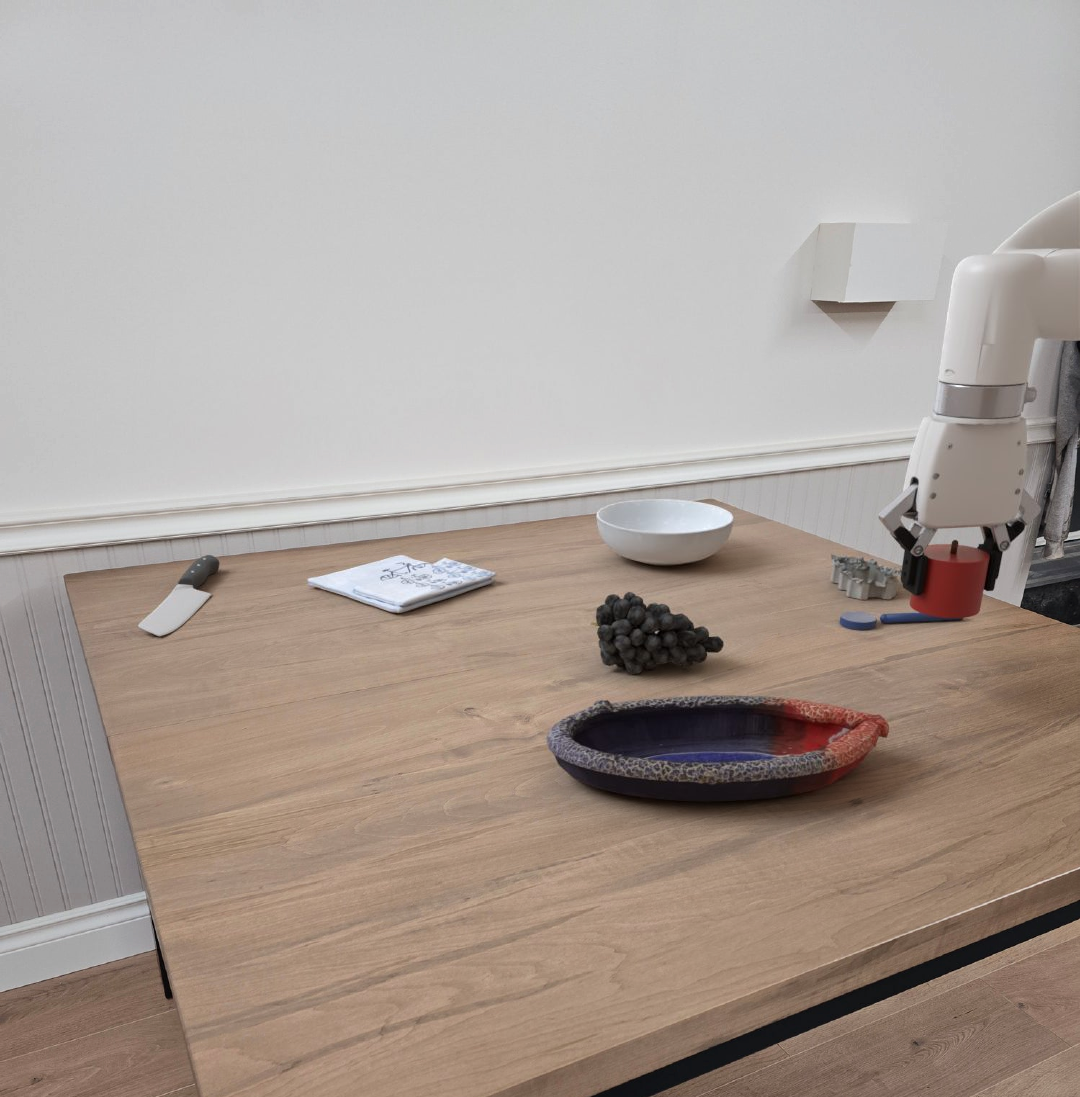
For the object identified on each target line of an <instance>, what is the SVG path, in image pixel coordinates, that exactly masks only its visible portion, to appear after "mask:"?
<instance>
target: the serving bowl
mask: <svg viewBox="0 0 1080 1097" xmlns="http://www.w3.org/2000/svg"><path fill="white" fill-rule="evenodd" d="M595 518H596V525H597V530H598V534H599V535H600V537H601V540H602V541H603V542H604V544H605V545H606V546H607V547H608V548H609V549H610V550H611V551H612V552H614V553H616V554H617V555H619V556H621V557H623V558H626V559H628V560H631V561H635V562H639V563H643V564H645V565H646V564H647V565H650V566H651V565H652V566H662V567H663V566H666V567H669V566H679V565H684V564H689V563H694V562H698V561H701V560H704V559H707V558H709V557H711V556H713V555H715V554H716V553H717V552H719V551H720V550H721V549H722V548H723V547H724V545H725V544H726V543H727V541H728V540H729V538H730V536H731V533H732V530H733V525H734V521H735V517H734V515H733V514H732V512H730V511H729V510H728V509H725V508H722V507H721V506H717V505H714V504H710V503H705V502H700V501H693V500H685V499H671V498H670V499H669V498H654V499H653V498H650V499H634V500H626V501H620V502H615V503H612V504H608V505H605V506H603V507H601V508H600V509H599V510H598V511H597V512H596V516H595Z"/></svg>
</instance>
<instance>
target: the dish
mask: <svg viewBox="0 0 1080 1097" xmlns="http://www.w3.org/2000/svg"><path fill="white" fill-rule="evenodd" d="M889 733H890V725H889V723H888V722H887V721H886V720H885V718H884V717H883V716H882V715H881V714H874V713H873V714H872V713H867V712H863V711H858V710H854V709H850V708H846V707H843V706H838V705H833V704H828V703H822V702H815V701H808V700H803V699H802V700H801V699H797V698H787V697H779V696H778V697H777V696H765V695H731V694H730V695H729V694H728V695H725V694H724V695H723V694H722V695H720V694H719V695H714V694H713V695H687V696H671V697H659V698H657V697H656V698H647V699H640V700H639V699H638V700H628V701H619V702H611V701H610V700H608V699H598V700H597V701H596V702H595V701H594V704H593V705H591V706H589V707H587V708H584V709H582V710H580V711H577V712H574V713H572V714H570V715H568V716H566V717H564V718H562V719H561V720H559V721H558V722H556V723H555V724H554V725H553V726H552V728H550V730H549V731H548V732H547V734H546V735H547V736H546V745H547V747H548V750H549V751H550V752H551V753H552V754H553V756H554V758H555V761H556V762H557V765H558V766H559V767H560V768H561V769H563V771H564V772H566V773H567V774H568V775H569V776H570V777H572V778H573V779H574V780H576V781H578V782H580V783H581V784H585V785H587V786H589V787H591V788H595V789H599V790H603V791H607V792H611V793H614V794H615V793H616V794H620V795H621V794H622V795H626V796H633V797H640V798H647V799H656V800H657V799H658V800H666V801H679V802H733V801H735V802H736V801H749V800H761V799H771V798H779V797H785V796H791V795H792V796H793V795H799V794H803V793H807V792H812V791H816V790H819V789H822V788H825V787H828V786H830V785H832V784H834V783H835V782H836V781H838V780H839V779H840V778H842V777H843V776H844V775H846V774H848V773H849V772H851V771H852V770H853V769H855V767H857V766H858V765H860V764H861V763H862V762H863V761H864V760H865V758H866V757H867V756H868V754H869V753H870V752H871V750H873V749H874V748H875V747H876V746H877V744H878V740H879V738H884V739H887V738H888V735H889Z"/></svg>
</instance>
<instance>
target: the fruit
mask: <svg viewBox="0 0 1080 1097" xmlns="http://www.w3.org/2000/svg"><path fill="white" fill-rule="evenodd" d="M595 620H596V621H595V622H593V621H592V622H590V625H592V626H596V627H598V628H597V629H596V630H597V631H596V634H597V637H598V639H599V640H598V647H599V650H600V652H599V653H600V659H601V662H602V664H604V665H605V666H608V667H612V666H614V665H615V666H618V667H619V666H623V665H624V666H625V669H626V671H627V672H628V673H629V674H630V675H638V674H640V673H641V672H642V670H643V668H644V669H647V670H652V669H654V668H655V667H656V666H657V664H658V665H662V664H666V663H667V662H669V663H673V664H675V665H680V666H681V667H682V668H684V669H689V668H691V667H693V666H694V664H702V663H704V662H705V661H706V659H707V657H708V653H709V654H710V653H712V654H714V653H715V654H718V653H720V652H721V651H722V650H723V648H724V644H725V643H724V640H723V639H722V638H721V637H720V636H718V635H717V636H716V635H715V636H710V632H709V629H708V628H706V626H701V625H700V626H697V627H695V625H694V622H692V620H690V618H689V617H688V616H687V615H685V614H684V613H683V612H682V613H677V614H674V613H671V609H670V606H669V605H667V604H665V603H656V602H653V603H649V604H648V605H646V604H645V602H644V598H642V597H641V596H639V595H636V593H634V592H631V591H628V592H626V593H625V594H624V595H623V598H621V597H620V596H619V595H618V594H615V593H611V594H609V595H607V596H606V598H605V599H604V604H600V605H599V606H598V607H596V614H595Z"/></svg>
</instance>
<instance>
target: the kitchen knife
mask: <svg viewBox="0 0 1080 1097" xmlns="http://www.w3.org/2000/svg"><path fill="white" fill-rule="evenodd" d="M219 569H220V561H219V558H217V557H215V556H213V555H211V554H205V555H204V556H201V557H199V558H197V559H196V560H195V561H194V562H193V563H192V564H191V565H189V567H188V568H187V569H186V571H184V573H183V574H182V575H181V576H180V578H179V580H178V581H177V584H176V586H175V587H174V588H173V590H172V591H171V592H170V593H169V594H168V596H166V597H165V599H164V600H163V601H162V602H161V603H160V604H159V605H158V606H157V607H156V608H155V609H153V611H151V612H150V613H149V614H148V615H147V616H146V617H145V618H143V620H141V621H140V622H139V623H138V625H137V627H138V628H139V629H141V630H143V631H145V632H148V633H150V634H151V635H155V636H157V637H162V636H163V637H164V636H165V635H168V634H170V633H172V632H174V631H176V630H178V629H179V628H180V627H181V626H183V625H184V624H185V623H186V622H187V621H188V620H189V619H190V618H192V617H193V615H195V614H196V612H198V610H200V609H201V607H202V606H203V605H204V604H205V603H206V602H207V601H208V599H209V598H210V597H211V596H212V593H210V592H207V591H202V590H199V589H197V588H199V587H200V586H202V585H203V584H204V582H205V581H206V579H207V577H208V576H209V575H212V574H217V573H218V572H219Z"/></svg>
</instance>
